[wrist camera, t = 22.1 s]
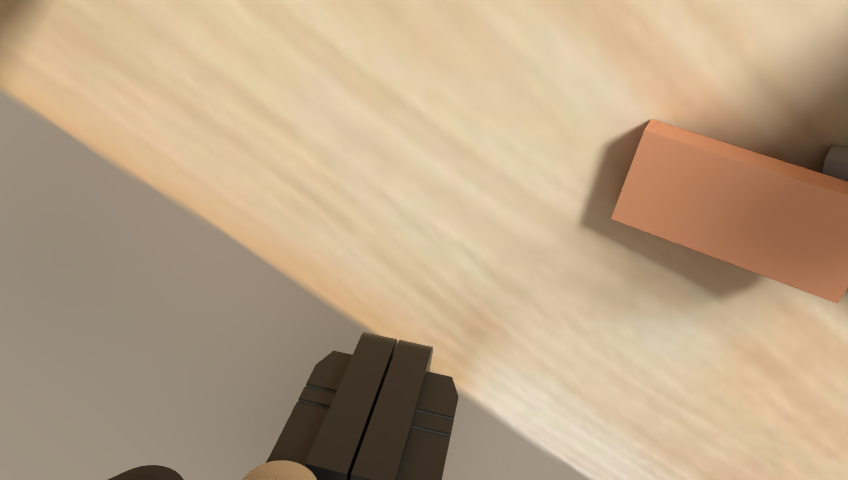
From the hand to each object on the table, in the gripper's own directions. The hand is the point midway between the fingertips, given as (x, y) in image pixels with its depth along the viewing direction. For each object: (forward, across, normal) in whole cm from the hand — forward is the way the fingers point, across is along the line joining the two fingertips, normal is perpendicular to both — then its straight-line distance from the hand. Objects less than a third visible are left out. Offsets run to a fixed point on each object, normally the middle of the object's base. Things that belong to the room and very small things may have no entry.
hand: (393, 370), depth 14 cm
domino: (+22, -8, +3) cm, 23 cm away
